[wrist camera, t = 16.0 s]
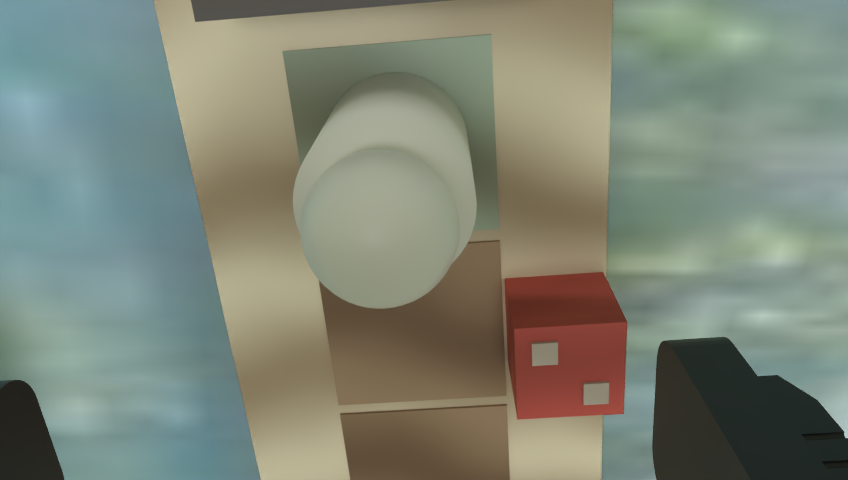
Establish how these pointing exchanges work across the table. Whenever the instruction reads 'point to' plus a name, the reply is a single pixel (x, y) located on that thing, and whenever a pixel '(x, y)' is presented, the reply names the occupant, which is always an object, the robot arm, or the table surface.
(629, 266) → the table surface
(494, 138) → the board
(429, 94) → the pawn
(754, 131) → the table surface
